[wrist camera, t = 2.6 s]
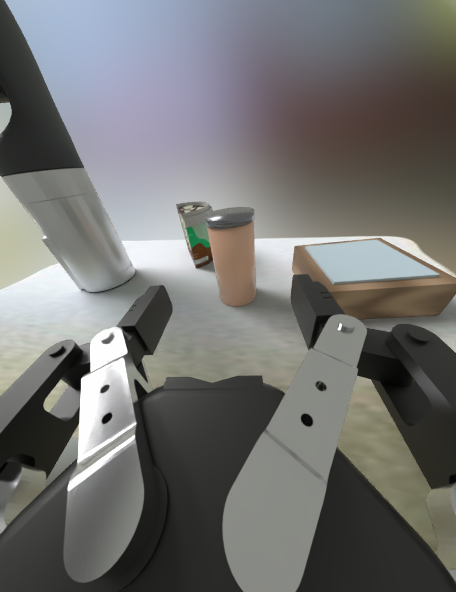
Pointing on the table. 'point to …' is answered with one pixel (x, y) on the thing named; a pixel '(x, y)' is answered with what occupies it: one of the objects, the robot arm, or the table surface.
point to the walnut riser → (375, 278)
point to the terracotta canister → (233, 253)
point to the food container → (196, 231)
